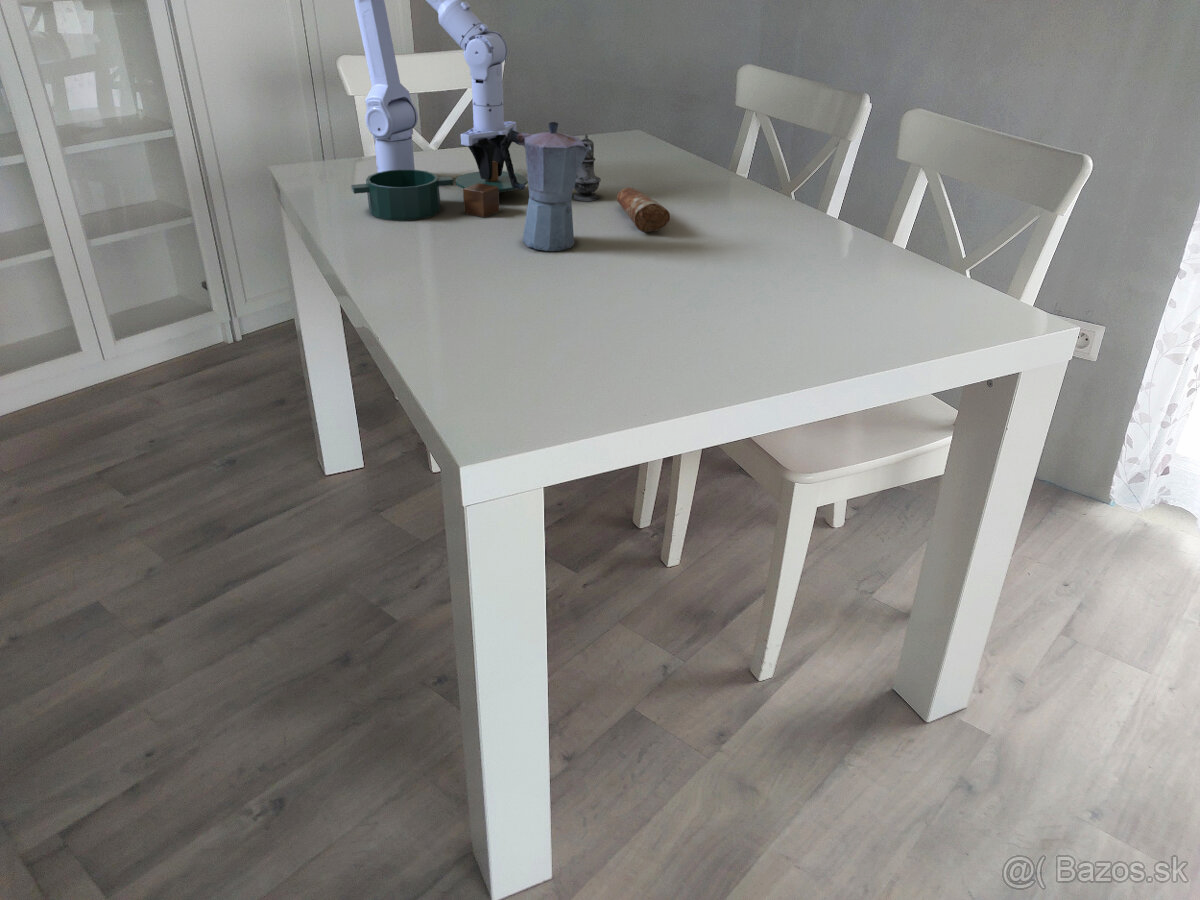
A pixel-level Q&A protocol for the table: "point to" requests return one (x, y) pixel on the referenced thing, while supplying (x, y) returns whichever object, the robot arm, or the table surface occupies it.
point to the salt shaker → (587, 177)
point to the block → (481, 200)
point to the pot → (403, 194)
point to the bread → (643, 210)
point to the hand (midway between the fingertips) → (491, 177)
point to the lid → (498, 181)
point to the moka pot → (548, 185)
